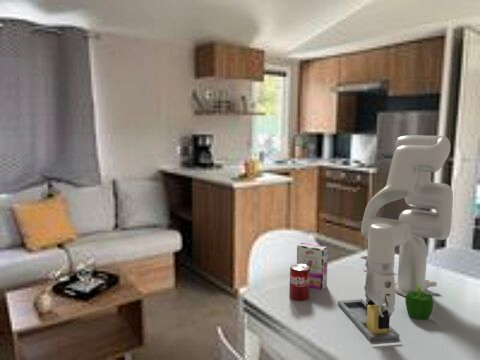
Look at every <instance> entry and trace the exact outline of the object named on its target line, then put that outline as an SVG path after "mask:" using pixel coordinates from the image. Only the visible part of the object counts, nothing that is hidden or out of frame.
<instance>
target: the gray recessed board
mask: <svg viewBox="0 0 480 360" xmlns="http://www.w3.org/2000/svg"><path fill="white" fill-rule="evenodd" d="M366 304H368V303H366V300H364V299H363V298H361V299H359V298H358V299H347V300H346V299H345V300H338V301H337V305H338V306H339V308H340V309H341V310H342V312H343V313H345V314H346V316H347V317H348V318H349V319H350V321H352V323H353V324H354V325H355V326H356V327H357V328H358V329H359V331H360V332H361V333H362V334H363V335H364V337H365V338H366V339H367V340H368V341H369V343H375V342H384V341H385V342H387V341H398V340H400V334H399V333H398V332H397V331H396V330H395V329H394V328H393V327H392V326H391V325H390V324H389V328H388V329H387V333H377V334H371V332H370V331H369V330H368V329H367V328H366V321H367V316H366Z"/></svg>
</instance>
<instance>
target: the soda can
mask: <svg viewBox="0 0 480 360" xmlns="http://www.w3.org/2000/svg"><path fill="white" fill-rule="evenodd" d="M310 290H311V288H310V268H309V266H307V265H305V264H297V263H294V264H291V266H290V268H289V290H288V291H289V294H288V295H289V298H290V300H293V301H294V302H295V301H296V302H305V301H308V300H309V299H310V295H311V294H310Z"/></svg>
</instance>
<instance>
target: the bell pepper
mask: <svg viewBox="0 0 480 360" xmlns="http://www.w3.org/2000/svg"><path fill="white" fill-rule="evenodd" d="M416 287H417V288H418V291H412V290H410V291H409V292H408V294H407V296H405V306H406V311H407V314H408V316H409V317H411V318H412V319H413V318H414V319H416V320H427V319H428V318H430V317H431V313H432V311H433V308H434V299H433V296H432V294H430V293H429V294H425V293H424V292H422V291H421V287H420V286H418V285H417V286H416Z"/></svg>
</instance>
